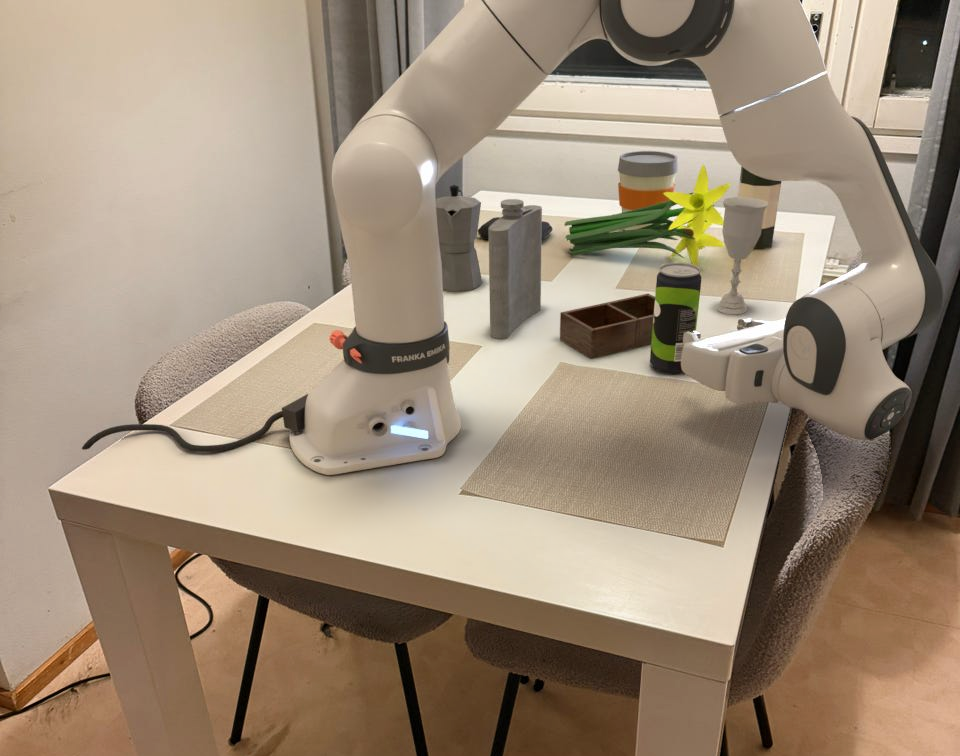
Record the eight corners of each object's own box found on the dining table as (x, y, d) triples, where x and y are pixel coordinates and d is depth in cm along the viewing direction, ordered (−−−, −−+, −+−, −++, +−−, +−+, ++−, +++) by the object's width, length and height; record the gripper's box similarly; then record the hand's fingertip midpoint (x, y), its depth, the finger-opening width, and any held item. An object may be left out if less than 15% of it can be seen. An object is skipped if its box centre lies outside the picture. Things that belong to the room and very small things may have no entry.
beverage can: (695, 361, 136) (705, 264, 128) (687, 378, 131) (698, 277, 123) (654, 356, 137) (662, 260, 130) (645, 372, 133) (653, 273, 125)
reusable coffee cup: (614, 219, 203) (618, 150, 195) (671, 220, 202) (677, 150, 194) (614, 235, 193) (618, 163, 185) (673, 236, 191) (680, 163, 183)
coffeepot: (480, 296, 162) (478, 194, 153) (428, 295, 163) (423, 194, 153) (485, 269, 175) (483, 173, 166) (437, 268, 176) (433, 174, 167)
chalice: (760, 308, 154) (776, 201, 145) (740, 319, 150) (755, 210, 140) (722, 299, 158) (735, 194, 149) (702, 309, 154) (714, 203, 145)
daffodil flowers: (593, 241, 192) (757, 214, 173) (577, 294, 186) (746, 273, 167) (561, 182, 180) (734, 147, 161) (543, 237, 174) (720, 207, 155)
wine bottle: (777, 241, 187) (801, 85, 171) (765, 251, 181) (788, 90, 165) (738, 235, 191) (758, 82, 175) (725, 245, 185) (744, 88, 169)
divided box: (590, 359, 137) (591, 330, 135) (559, 339, 144) (560, 312, 142) (679, 337, 144) (682, 309, 141) (646, 319, 151) (648, 293, 148)
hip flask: (504, 340, 144) (503, 214, 134) (482, 336, 146) (479, 212, 135) (543, 307, 156) (545, 190, 146) (522, 304, 158) (522, 188, 148)
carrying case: (556, 233, 195) (494, 227, 200) (557, 219, 194) (493, 213, 199) (539, 246, 187) (475, 240, 192) (540, 232, 185) (474, 226, 190)
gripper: (853, 326, 115) (775, 294, 125) (728, 358, 107) (657, 321, 117) (843, 371, 118) (769, 336, 129) (722, 406, 110) (653, 365, 121)
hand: (714, 329), depth 123 cm, fingers open, 8 cm apart
